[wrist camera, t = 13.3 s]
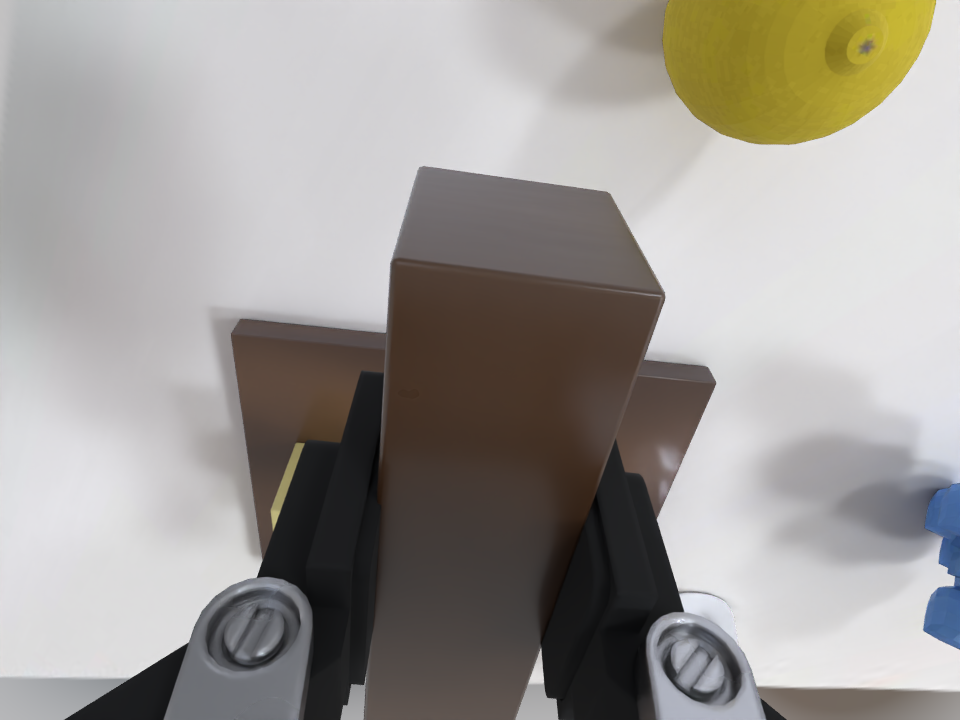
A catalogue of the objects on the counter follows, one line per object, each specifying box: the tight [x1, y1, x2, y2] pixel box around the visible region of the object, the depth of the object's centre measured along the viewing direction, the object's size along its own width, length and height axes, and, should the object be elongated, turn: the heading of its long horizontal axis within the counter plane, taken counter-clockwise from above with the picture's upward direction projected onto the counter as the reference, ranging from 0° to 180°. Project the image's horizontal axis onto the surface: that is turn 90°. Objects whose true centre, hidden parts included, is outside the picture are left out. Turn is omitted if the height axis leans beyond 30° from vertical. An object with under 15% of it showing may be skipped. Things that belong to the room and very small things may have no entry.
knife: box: [364, 166, 665, 720], centre depth 13 cm, size 22×3×3 cm, turn 172°
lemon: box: [662, 0, 936, 145], centre depth 15 cm, size 6×6×8 cm
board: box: [231, 319, 716, 559], centre depth 29 cm, size 16×20×1 cm
